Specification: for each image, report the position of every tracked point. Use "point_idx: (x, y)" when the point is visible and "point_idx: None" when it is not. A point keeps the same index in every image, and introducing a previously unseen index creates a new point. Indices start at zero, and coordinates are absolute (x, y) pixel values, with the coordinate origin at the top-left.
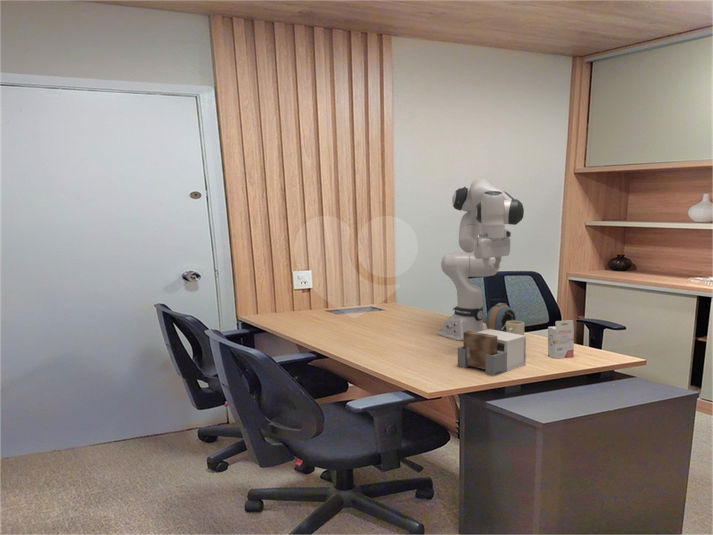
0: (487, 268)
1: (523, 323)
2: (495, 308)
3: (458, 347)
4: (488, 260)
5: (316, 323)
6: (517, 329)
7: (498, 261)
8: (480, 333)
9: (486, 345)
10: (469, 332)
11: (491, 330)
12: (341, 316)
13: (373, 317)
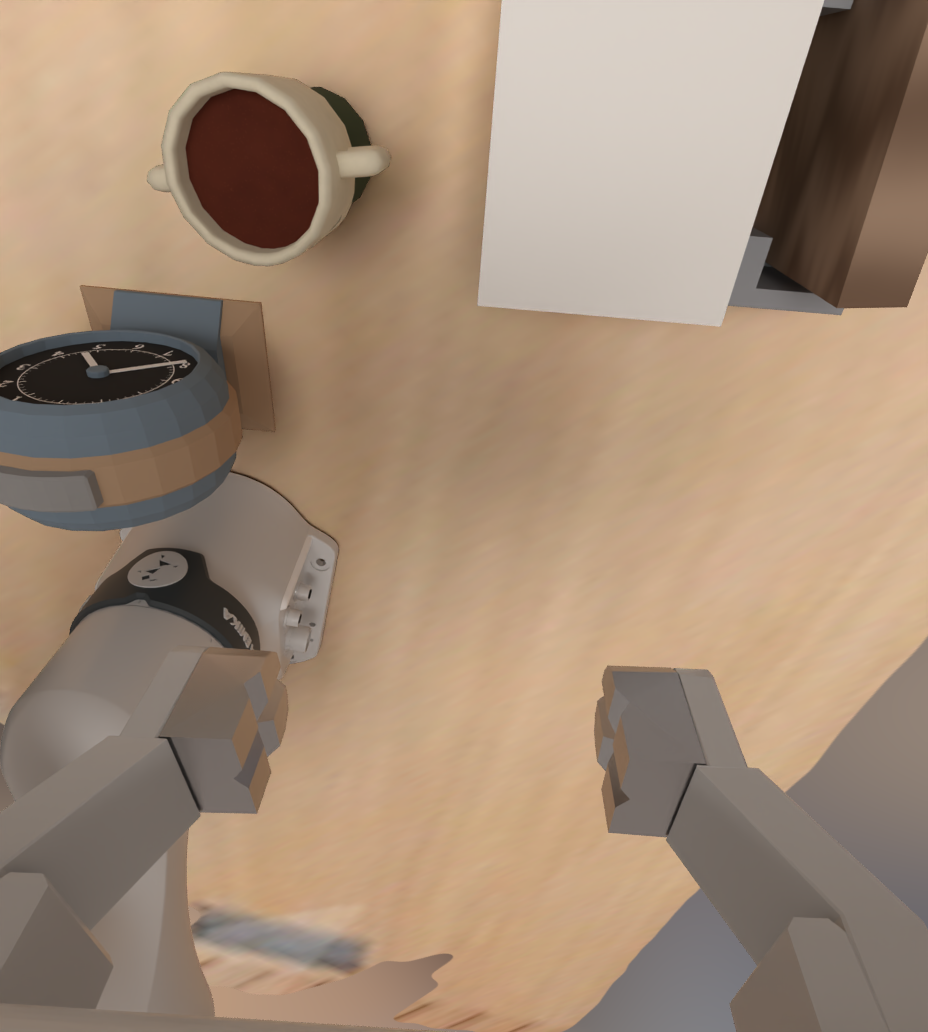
0: (709, 708)
1: (222, 73)
2: (128, 485)
3: (832, 313)
4: (854, 942)
5: (509, 924)
6: (310, 106)
7: (105, 822)
8: (896, 163)
9: None
10: (891, 266)
11: (518, 262)
12: (377, 927)
13: (303, 880)
